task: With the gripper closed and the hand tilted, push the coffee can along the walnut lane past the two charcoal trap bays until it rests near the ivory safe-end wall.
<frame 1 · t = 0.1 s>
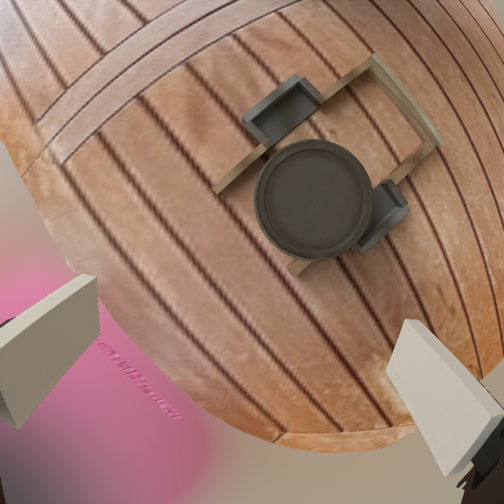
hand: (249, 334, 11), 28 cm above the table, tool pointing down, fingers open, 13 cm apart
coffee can: (293, 194, 38), resting in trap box
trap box: (328, 164, 37), on the table
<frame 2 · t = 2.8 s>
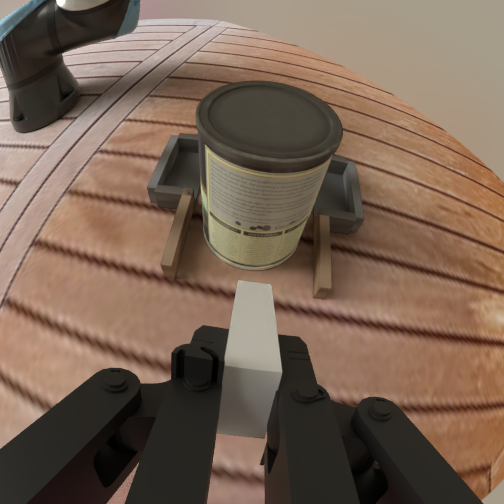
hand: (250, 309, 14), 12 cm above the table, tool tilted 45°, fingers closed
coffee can: (251, 228, 31), resting in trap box
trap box: (258, 185, 34), on the table
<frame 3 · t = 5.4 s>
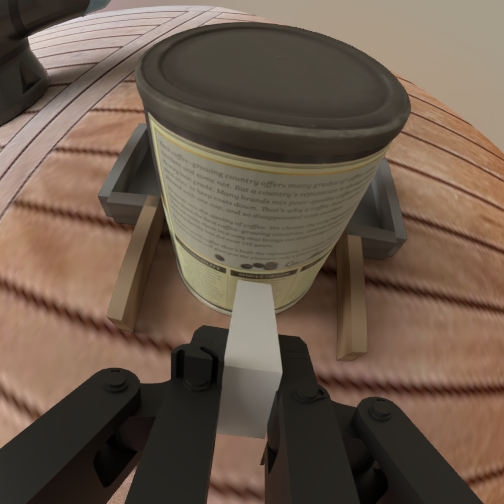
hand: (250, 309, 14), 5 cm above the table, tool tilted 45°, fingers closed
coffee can: (247, 252, 21), resting in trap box, touching gripper
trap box: (256, 189, 24), on the table
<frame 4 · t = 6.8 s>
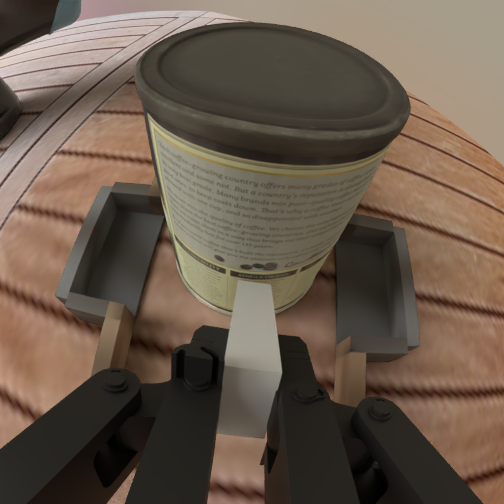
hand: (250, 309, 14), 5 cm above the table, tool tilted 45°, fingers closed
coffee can: (247, 252, 21), resting in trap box, touching gripper
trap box: (243, 278, 20), on the table
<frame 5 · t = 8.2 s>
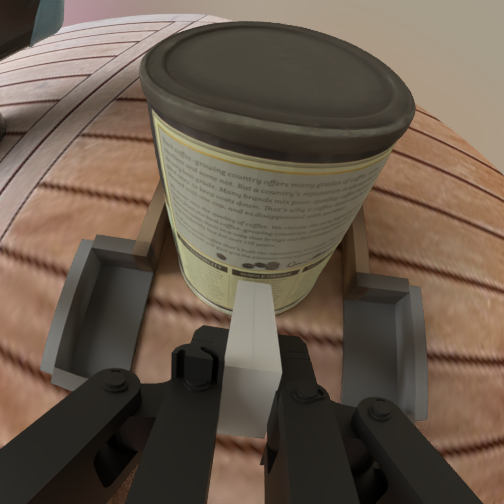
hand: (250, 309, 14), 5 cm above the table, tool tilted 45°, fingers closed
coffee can: (249, 252, 21), resting in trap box, touching gripper
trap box: (242, 348, 18), on the table
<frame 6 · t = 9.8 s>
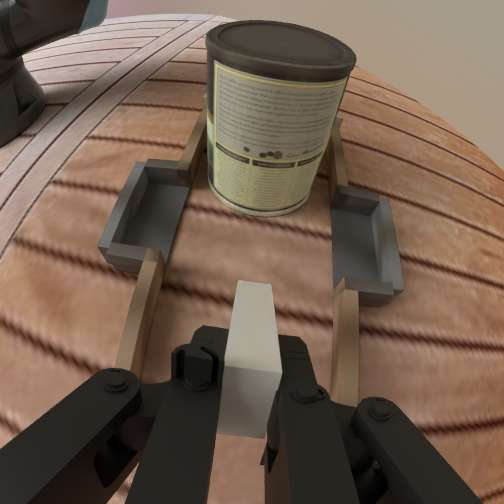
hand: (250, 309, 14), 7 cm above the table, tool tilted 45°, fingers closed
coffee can: (260, 177, 28), resting in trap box
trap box: (255, 235, 25), on the table
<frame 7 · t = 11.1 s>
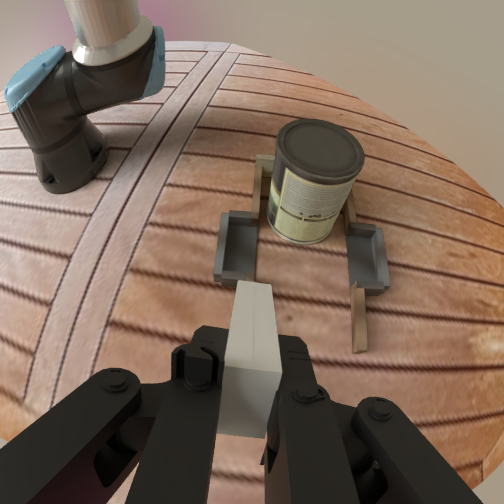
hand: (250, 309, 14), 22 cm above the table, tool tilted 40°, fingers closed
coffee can: (300, 216, 44), resting in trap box
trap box: (303, 257, 40), on the table
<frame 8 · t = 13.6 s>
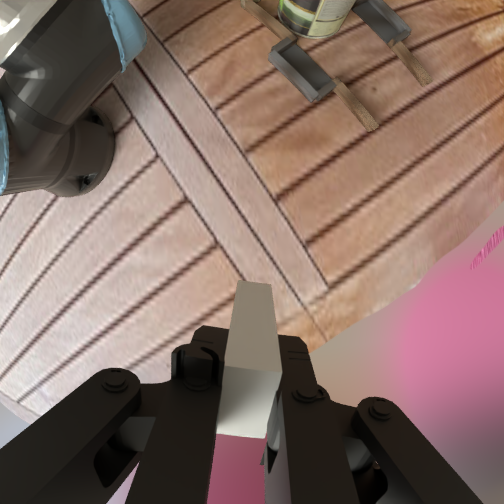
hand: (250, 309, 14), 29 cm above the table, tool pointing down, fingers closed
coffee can: (310, 15, 34), resting in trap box
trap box: (343, 42, 35), on the table
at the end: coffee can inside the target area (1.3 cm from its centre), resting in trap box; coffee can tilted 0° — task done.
